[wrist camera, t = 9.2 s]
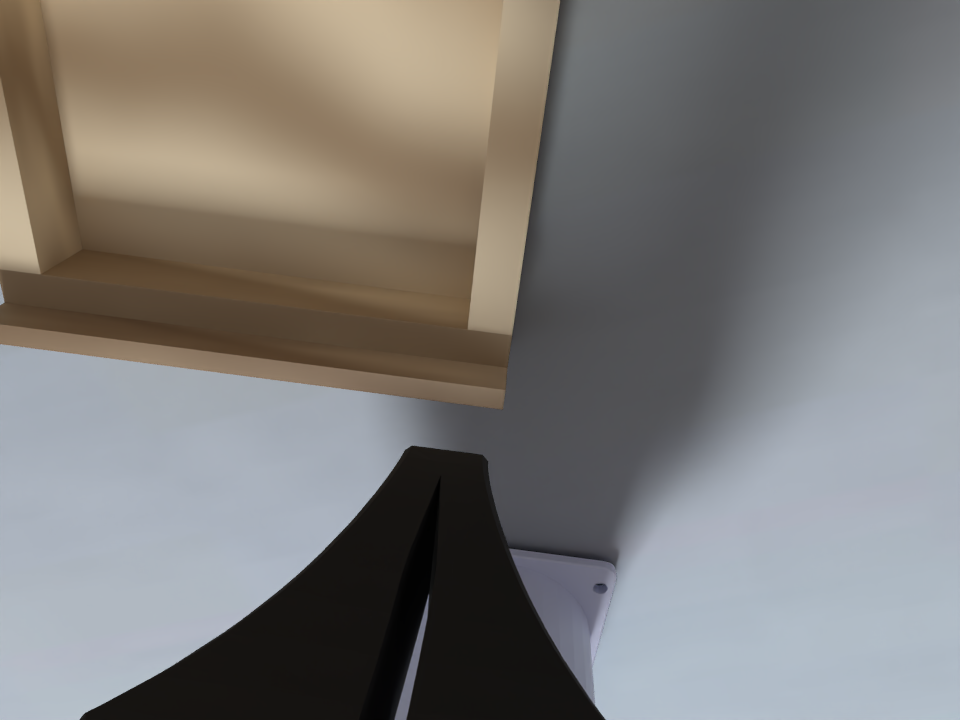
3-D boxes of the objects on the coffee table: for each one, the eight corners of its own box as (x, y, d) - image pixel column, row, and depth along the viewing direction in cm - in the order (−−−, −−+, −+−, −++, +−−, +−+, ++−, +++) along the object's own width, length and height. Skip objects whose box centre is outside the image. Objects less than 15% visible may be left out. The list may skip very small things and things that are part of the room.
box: (508, 345, 22) (502, 409, 19) (61, 287, 22) (-20, 341, 19) (574, -120, 16) (582, -142, 13) (-30, -192, 16) (-170, -233, 13)
